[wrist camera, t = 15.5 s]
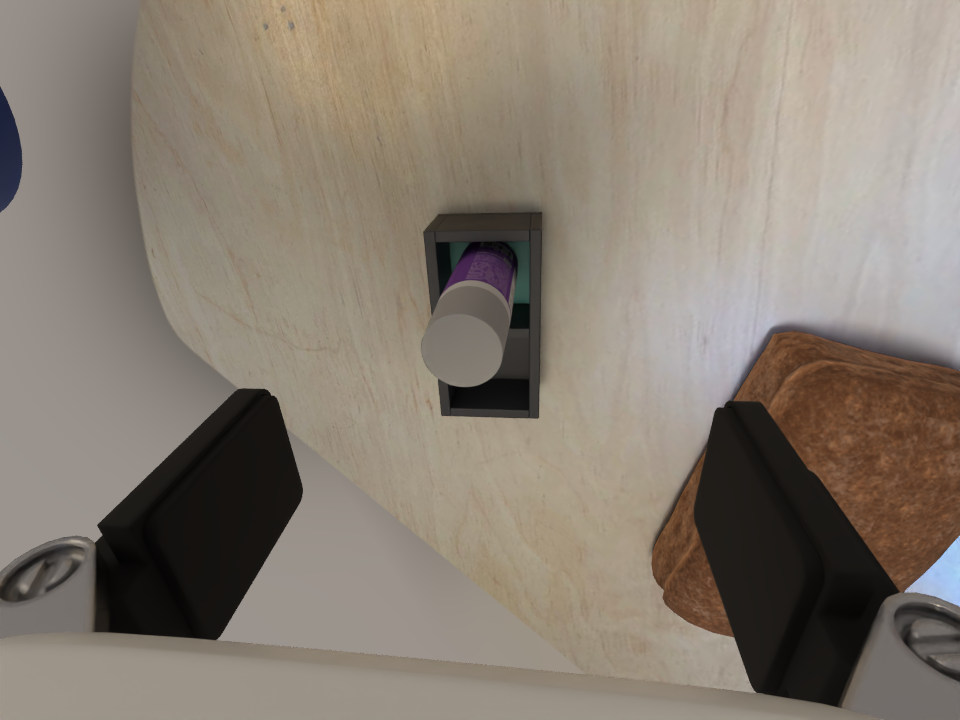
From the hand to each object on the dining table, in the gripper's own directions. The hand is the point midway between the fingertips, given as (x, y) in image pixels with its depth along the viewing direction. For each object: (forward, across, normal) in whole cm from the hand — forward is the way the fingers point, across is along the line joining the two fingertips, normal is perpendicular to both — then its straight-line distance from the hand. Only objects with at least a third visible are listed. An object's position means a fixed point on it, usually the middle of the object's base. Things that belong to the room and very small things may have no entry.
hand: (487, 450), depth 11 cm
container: (+30, +3, +5) cm, 30 cm away
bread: (+31, -24, +26) cm, 47 cm away
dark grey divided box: (+30, +3, +9) cm, 32 cm away
